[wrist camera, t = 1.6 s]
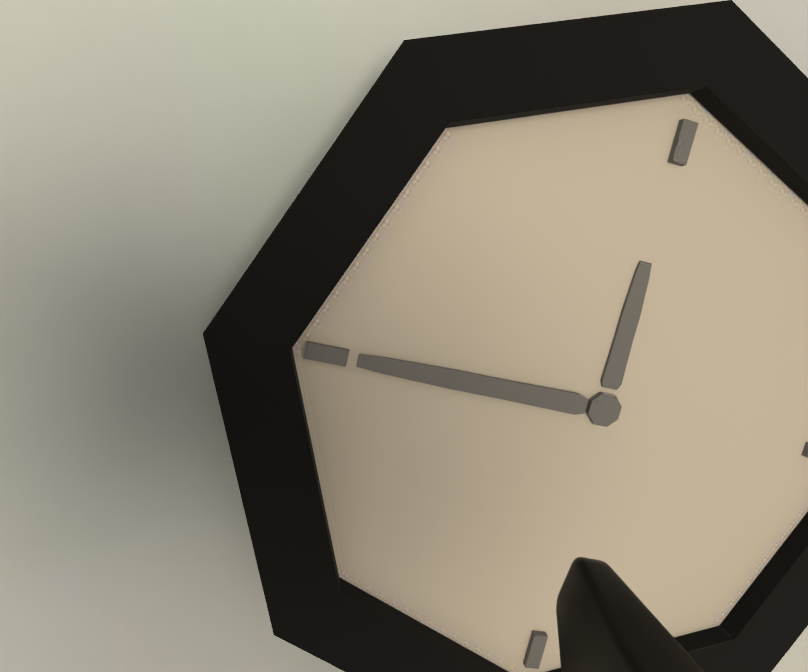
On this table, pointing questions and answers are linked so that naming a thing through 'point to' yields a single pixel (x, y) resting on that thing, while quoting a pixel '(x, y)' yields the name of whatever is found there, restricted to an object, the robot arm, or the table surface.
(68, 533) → the table surface
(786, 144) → the wall clock
